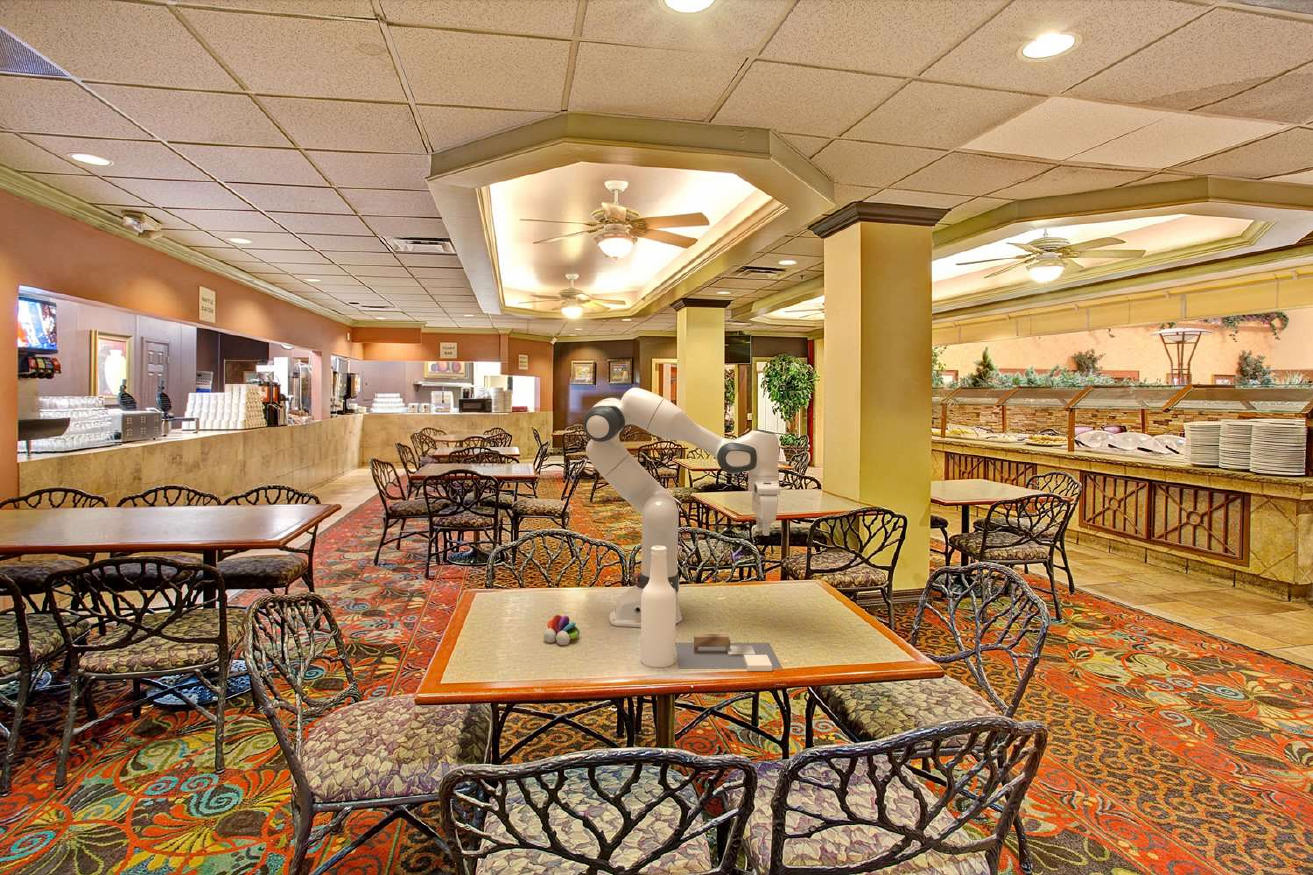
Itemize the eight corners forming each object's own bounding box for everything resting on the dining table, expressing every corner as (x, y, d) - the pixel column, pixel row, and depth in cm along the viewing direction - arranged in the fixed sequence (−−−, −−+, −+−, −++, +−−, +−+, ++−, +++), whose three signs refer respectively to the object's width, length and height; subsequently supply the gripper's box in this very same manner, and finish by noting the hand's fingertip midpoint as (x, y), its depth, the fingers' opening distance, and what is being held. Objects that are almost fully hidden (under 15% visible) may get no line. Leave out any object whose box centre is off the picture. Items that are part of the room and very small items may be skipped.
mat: (678, 670, 163) (678, 668, 163) (675, 644, 181) (675, 642, 181) (782, 670, 163) (782, 668, 163) (769, 644, 181) (769, 642, 181)
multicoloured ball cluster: (556, 633, 190) (556, 608, 189) (585, 638, 186) (585, 613, 185) (538, 642, 182) (538, 617, 182) (568, 648, 178) (568, 622, 178)
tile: (743, 660, 168) (747, 671, 161) (743, 654, 168) (747, 665, 161) (766, 660, 169) (772, 671, 162) (766, 654, 168) (772, 665, 162)
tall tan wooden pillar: (694, 656, 171) (695, 639, 171) (693, 647, 177) (693, 631, 177) (755, 656, 171) (755, 639, 171) (751, 647, 177) (751, 631, 177)
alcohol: (668, 654, 173) (669, 542, 172) (680, 667, 165) (681, 549, 164) (636, 658, 171) (637, 544, 169) (646, 671, 162) (647, 551, 161)
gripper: (747, 481, 202) (746, 525, 202) (758, 489, 181) (758, 538, 182) (767, 481, 202) (767, 525, 202) (781, 489, 181) (780, 538, 182)
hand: (762, 532), depth 192 cm, fingers open, 8 cm apart
